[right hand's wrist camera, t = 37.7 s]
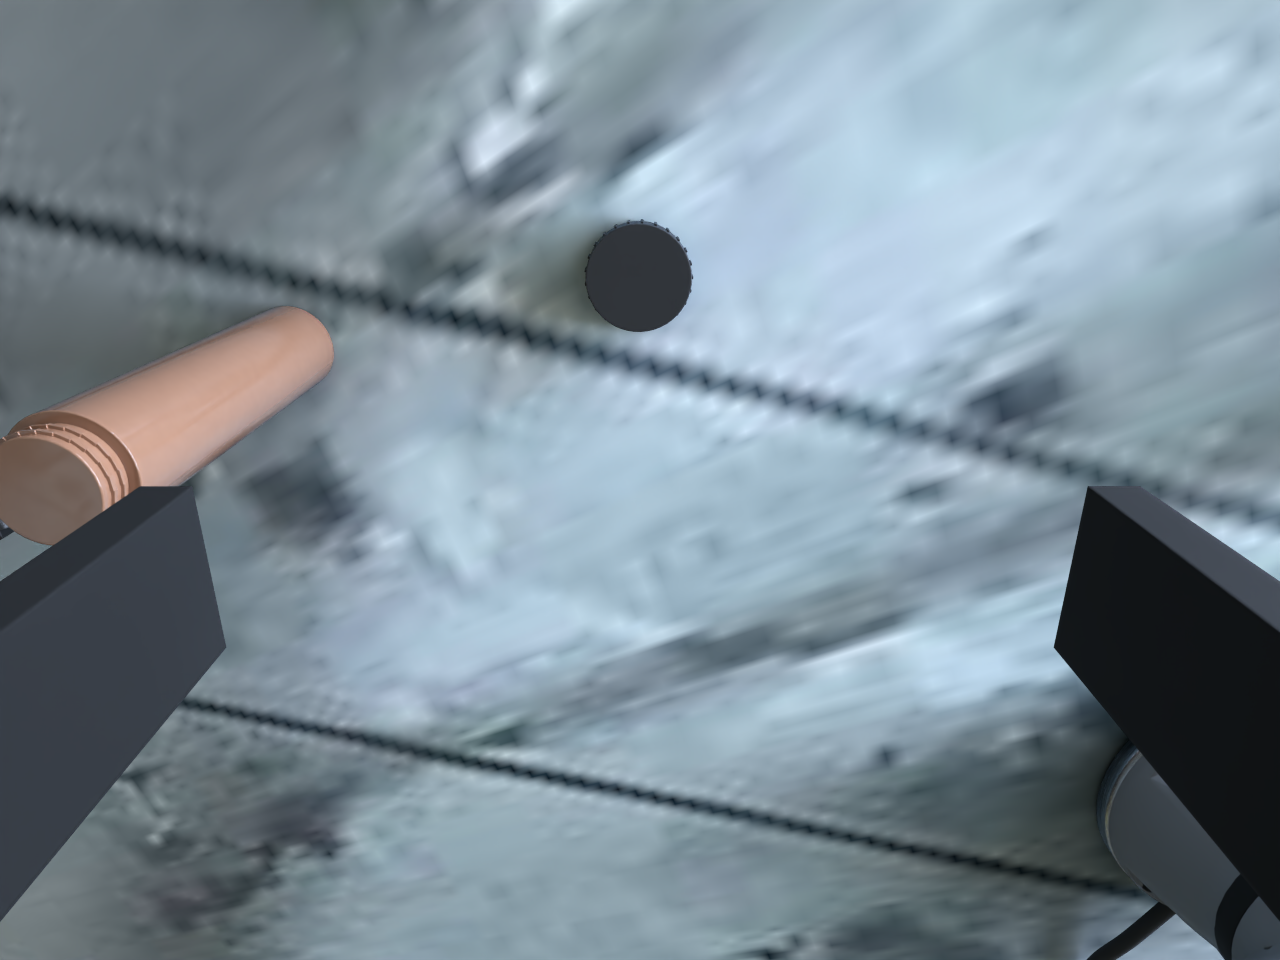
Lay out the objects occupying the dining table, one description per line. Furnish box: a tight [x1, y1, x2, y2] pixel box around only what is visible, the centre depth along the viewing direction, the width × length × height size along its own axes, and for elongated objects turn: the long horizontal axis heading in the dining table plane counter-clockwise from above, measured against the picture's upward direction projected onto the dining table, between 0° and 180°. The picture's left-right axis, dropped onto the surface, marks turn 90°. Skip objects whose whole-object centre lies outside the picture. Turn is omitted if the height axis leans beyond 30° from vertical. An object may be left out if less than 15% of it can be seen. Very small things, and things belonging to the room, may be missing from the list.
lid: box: [585, 219, 693, 332], centre depth 39 cm, size 5×5×2 cm
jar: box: [0, 306, 334, 545], centre depth 33 cm, size 4×4×18 cm
